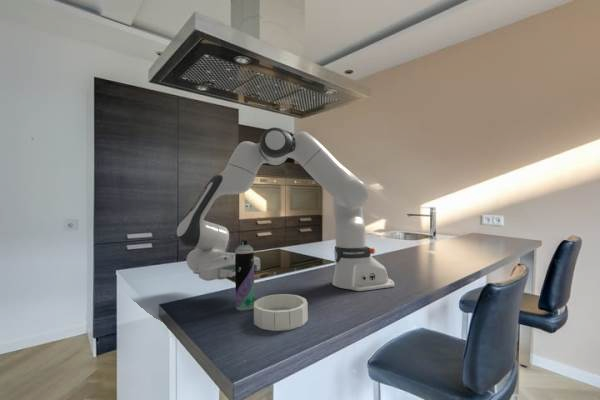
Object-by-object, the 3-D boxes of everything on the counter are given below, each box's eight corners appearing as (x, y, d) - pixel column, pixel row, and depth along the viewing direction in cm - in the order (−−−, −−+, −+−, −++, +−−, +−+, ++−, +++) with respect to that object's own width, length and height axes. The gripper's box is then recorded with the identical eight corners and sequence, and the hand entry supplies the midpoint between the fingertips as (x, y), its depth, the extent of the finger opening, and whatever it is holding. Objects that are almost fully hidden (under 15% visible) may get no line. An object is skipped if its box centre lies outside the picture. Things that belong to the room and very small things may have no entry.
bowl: (303, 308, 87) (303, 292, 87) (310, 328, 73) (310, 309, 73) (255, 311, 85) (254, 295, 85) (253, 332, 71) (252, 313, 71)
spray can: (236, 311, 85) (235, 241, 85) (235, 305, 90) (234, 239, 91) (255, 309, 87) (254, 240, 87) (253, 303, 92) (252, 238, 92)
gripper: (189, 260, 90) (215, 266, 80) (244, 251, 105) (271, 255, 96) (190, 281, 89) (216, 289, 80) (244, 269, 105) (271, 274, 96)
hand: (246, 270), depth 88 cm, fingers open, 8 cm apart
